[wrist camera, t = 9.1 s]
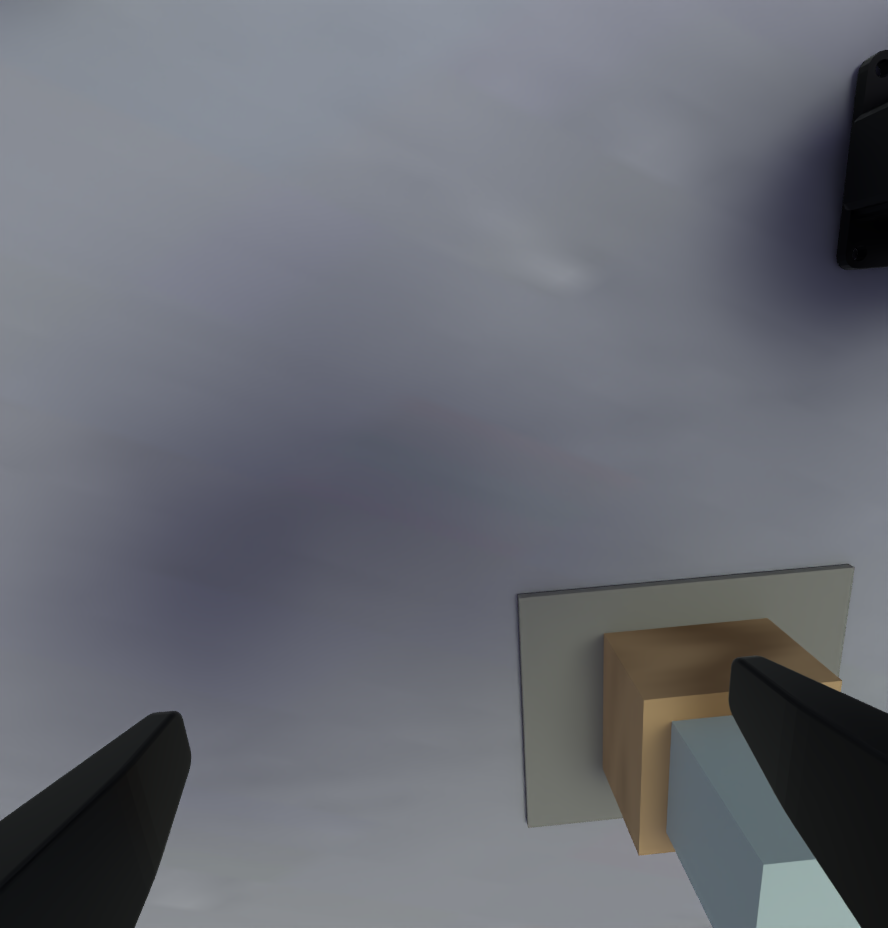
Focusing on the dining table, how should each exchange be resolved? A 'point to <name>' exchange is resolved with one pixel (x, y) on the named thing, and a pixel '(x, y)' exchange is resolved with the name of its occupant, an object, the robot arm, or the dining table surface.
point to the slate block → (741, 836)
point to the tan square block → (675, 704)
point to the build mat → (628, 609)
